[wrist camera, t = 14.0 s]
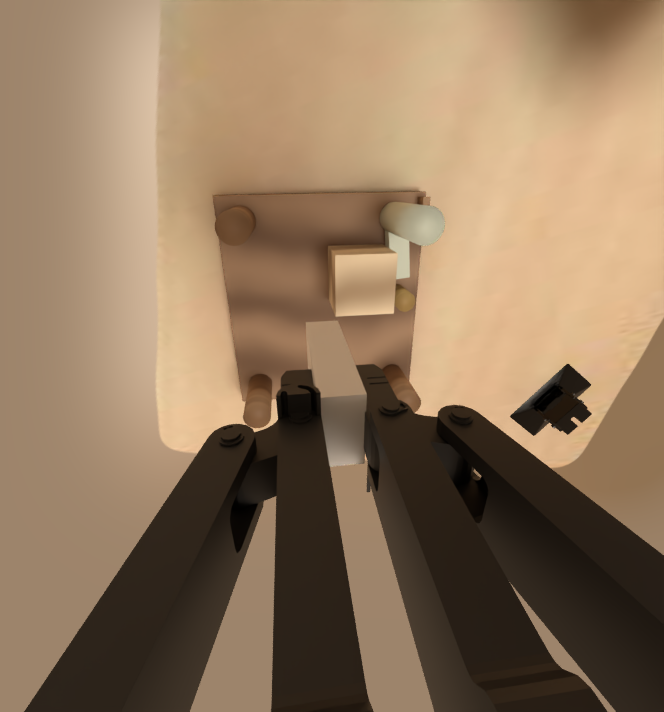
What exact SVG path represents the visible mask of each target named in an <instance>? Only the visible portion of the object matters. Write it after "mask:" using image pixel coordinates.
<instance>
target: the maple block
mask: <svg viewBox="0 0 664 712" xmlns="http://www.w3.org/2000/svg"><path fill="white" fill-rule="evenodd" d="M397 259H398V253H396V252H395V251H393V250H391V249H390V248H388V247H386V246H384V245H383V244H373V245H339V246H328V282H329V301H330V304H331V306H332V309H333V311H334V314H335V316H336V317H337V316H356V315H376V314H394V303H395V288H396V274H397Z"/></svg>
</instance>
